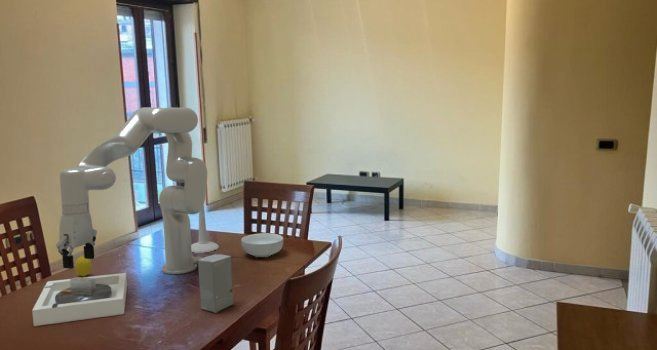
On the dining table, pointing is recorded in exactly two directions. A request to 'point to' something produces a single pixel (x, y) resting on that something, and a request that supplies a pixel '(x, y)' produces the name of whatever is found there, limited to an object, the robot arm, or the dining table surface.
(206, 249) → the candlestick
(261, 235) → the cereal bowl
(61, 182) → the robot arm
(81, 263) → the lemon
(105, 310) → the dial housing
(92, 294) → the dial
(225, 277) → the skincare box
